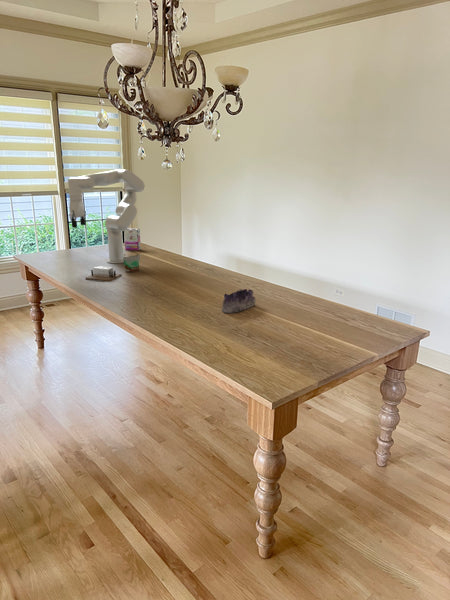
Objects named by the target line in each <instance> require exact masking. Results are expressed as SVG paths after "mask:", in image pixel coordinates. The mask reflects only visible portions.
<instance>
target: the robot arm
mask: <svg viewBox="0 0 450 600" xmlns="http://www.w3.org/2000/svg"><path fill="white" fill-rule="evenodd" d="M120 183H123V188H124V195H123V198H122V199H121V201H120V202H119V203H118V204H117V206H116V208H115V214H116V215H115V214H113V215H109V216H107V217H106V218H105V222H104V223H105V228H106V233H107V243H108V244H107V247H108V259H106V262H107V263H109V264H122V263H124V260H123V257H126V253H124V250H123V249H124V247H123V246H124V245H123V234H122V232H124V231H125V230H126V229H127V228H129V227H130V225H131V224H132V222H133V221H134V220H135V219H136V217H137V214H138V210H137V207H136V206H135V204H136V202H137V193H141V192H143V191H144V190H145V188H146V187H145V186H146V185H145V182H144V180H143V179H141V178H140V177H139V176H138V175H137V174H135V173H134V172H132V171H131V170H129V169H123V168H119V169H112V170H108V171H102V172H96V173H91V174H85V175H81V176H77V177H69V178H68V179H67V185H68V195H69V196H68V197H69V203H68V204H69V214H68V216H69V219H70V221H71V227H72V228H78V223H77V218H80V219H79V220H80V225H81V226H86V214H87V213H86V210H85V205H84V202H83V201H84V200H83V192H82V191H83V190H87V191H89V190H93V189H94V187H105V186H110V185H115V184H120Z"/></svg>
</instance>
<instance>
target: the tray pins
mask: <svg viewBox="0 0 450 600" xmlns="http://www.w3.org/2000/svg"><path fill="white" fill-rule="evenodd" d="M116 271H117V270H115V269H113V272H112V271H111V278H113V273H114V276H116V274H117V272H116ZM90 272H91V275H92V276H94V269H91V270H90Z"/></svg>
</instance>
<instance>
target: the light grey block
mask: <svg viewBox="0 0 450 600" xmlns="http://www.w3.org/2000/svg"><path fill="white" fill-rule="evenodd" d="M113 270H114V268H113V266H112V267H111V266H102V265H100V266H99V265H98V266H95V267H93V274H94V276H99V277H111V271H112V272H113V273H114V271H113Z"/></svg>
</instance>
